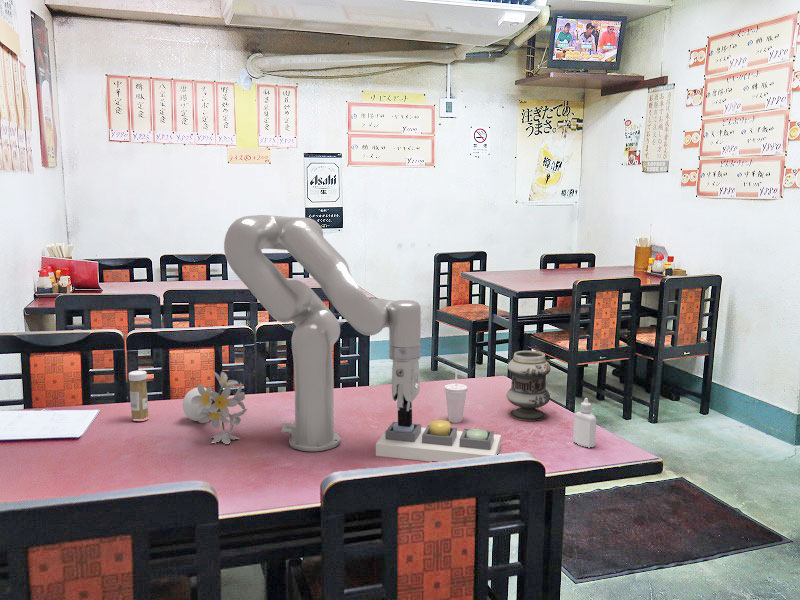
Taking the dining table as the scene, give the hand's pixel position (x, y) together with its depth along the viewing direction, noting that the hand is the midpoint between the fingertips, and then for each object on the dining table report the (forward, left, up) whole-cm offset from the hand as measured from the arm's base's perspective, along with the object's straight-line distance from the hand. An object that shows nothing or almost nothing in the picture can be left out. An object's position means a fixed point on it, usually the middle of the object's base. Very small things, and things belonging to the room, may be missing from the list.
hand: (404, 425), depth 161 cm
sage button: (+18, 0, -3) cm, 18 cm away
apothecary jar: (+28, +33, -6) cm, 43 cm away
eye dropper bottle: (+43, +14, -6) cm, 45 cm away
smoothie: (+9, +23, -6) cm, 25 cm away
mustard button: (+9, 0, -1) cm, 9 cm away
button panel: (+9, 0, -6) cm, 10 cm away
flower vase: (-51, -2, -6) cm, 52 cm away
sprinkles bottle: (-74, 0, -6) cm, 75 cm away
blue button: (0, 0, -2) cm, 3 cm away
